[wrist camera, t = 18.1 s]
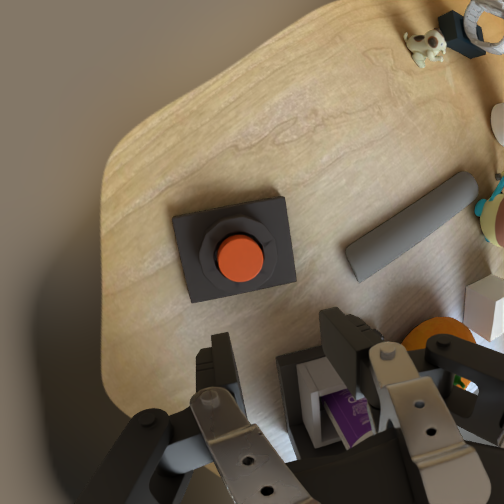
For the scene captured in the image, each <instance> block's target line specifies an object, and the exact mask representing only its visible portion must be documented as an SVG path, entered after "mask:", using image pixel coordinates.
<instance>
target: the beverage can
mask: <svg viewBox="0 0 504 504" xmlns="http://www.w3.org/2000/svg"><path fill="white" fill-rule="evenodd" d="M491 127H492V130H493V133H494V135H495V137H496V139H497V141H498V142H499V143H500V144H501V145H502V146H504V103H498V104H496V105H495V106H494V107H493V109H492V112H491Z"/></svg>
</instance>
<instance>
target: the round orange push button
mask: <svg viewBox="0 0 504 504" xmlns="http://www.w3.org/2000/svg"><path fill="white" fill-rule="evenodd" d="M217 259H218V265H219V268H220V271H221V272H222V274H223V275H224V276H225V277H226V278H228V279H229V280H232V281H235V282H245V281H249V280H251V279H253V278H254V277H255V276H256V275H257V274H258V273H259V272H260V270H261V268H262V265H263V254H262V251H261V249H260V247H259V246H258V245H257V243H256V242H255V241H254V240H253V239H252V238H250V237H248V236H246V235H233V236H230V237H228V238H227V239H225V240H224V241H223V242H222V243H221V245H220V246H219V249H218V253H217Z"/></svg>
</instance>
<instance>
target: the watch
mask: <svg viewBox="0 0 504 504" xmlns="http://www.w3.org/2000/svg"><path fill="white" fill-rule="evenodd" d="M472 8H473V9H472ZM466 9H467V10H465V13H464V16H462V15H460V14H458V13H457V12H455V11H453V10H452V11H450V12H448V13H446V14H444V15H442V16H440V17H438V21H439V27H440V30H441V32H442V34H443V36H444V40H445V42H446V44H447V47H449V48H451V49H453V50H455V51H457V52H459V53H460V54H462V55H464V56H466V57H468V58H470V59H472V58H475V57H479V56H482V55H486V51H487V52H489V53H492V54H497V55H502V54H504V37H503V39H501V41H499V43H489V42H484V39H483V34H482V29H481V27H480V26H478V25H477V21H478V19H479V16H480V15H481V14H482V13H481V12H483V11H485V12H488V13H491V14H493V15H495V16H498V17H500V18H503V19H504V2H503V1H501V0H471V1H470V3H469V4H468V6H467V8H466ZM468 10H469V11H468ZM475 10H476V11H475ZM469 13H470V14H469ZM472 15H473V16H472Z"/></svg>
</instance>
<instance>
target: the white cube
mask: <svg viewBox="0 0 504 504" xmlns="http://www.w3.org/2000/svg"><path fill="white" fill-rule="evenodd" d="M463 324H464V325H466V326H467V327H468V328H469V329H471V330H472V331H474V332H475V333H477V334H478V335H480V336H481V337H483V338H484V339H486V340H487V341H489V342H491V341H493V340H494V339H496V338H497V337H499V336H500V335H502V334H503V333H504V279H502V278H500V277H497V276H495V275H493V274H491V275H489V276H487V277H485V278H483V279H481V280H479V281H477V282H475V283H472V284H470V285H468V286H466V294H465V309H464V320H463Z"/></svg>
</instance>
